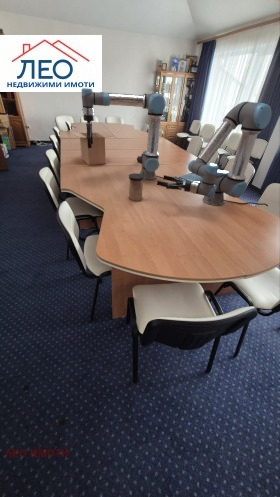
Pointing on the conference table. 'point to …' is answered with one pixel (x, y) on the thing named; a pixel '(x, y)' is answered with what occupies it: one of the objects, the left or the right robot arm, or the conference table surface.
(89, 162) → the box
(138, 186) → the jar
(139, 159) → the laser sight
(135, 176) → the lid
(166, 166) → the conference table surface
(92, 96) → the left robot arm
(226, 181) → the right robot arm
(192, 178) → the book
